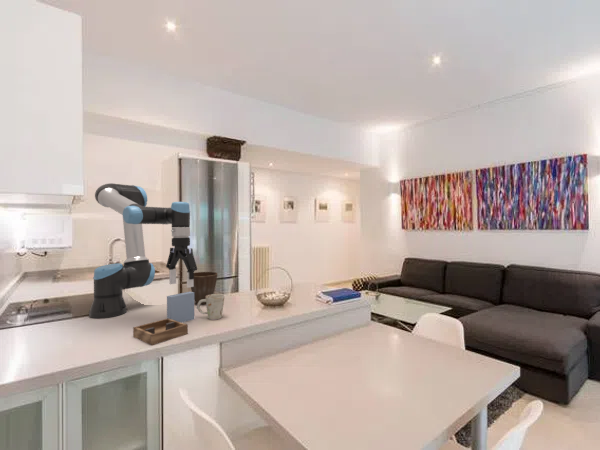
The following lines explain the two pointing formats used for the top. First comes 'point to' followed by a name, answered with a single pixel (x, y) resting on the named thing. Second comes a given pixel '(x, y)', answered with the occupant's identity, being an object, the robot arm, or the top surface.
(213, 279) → the plant pot
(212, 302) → the mug
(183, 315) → the door
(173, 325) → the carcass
